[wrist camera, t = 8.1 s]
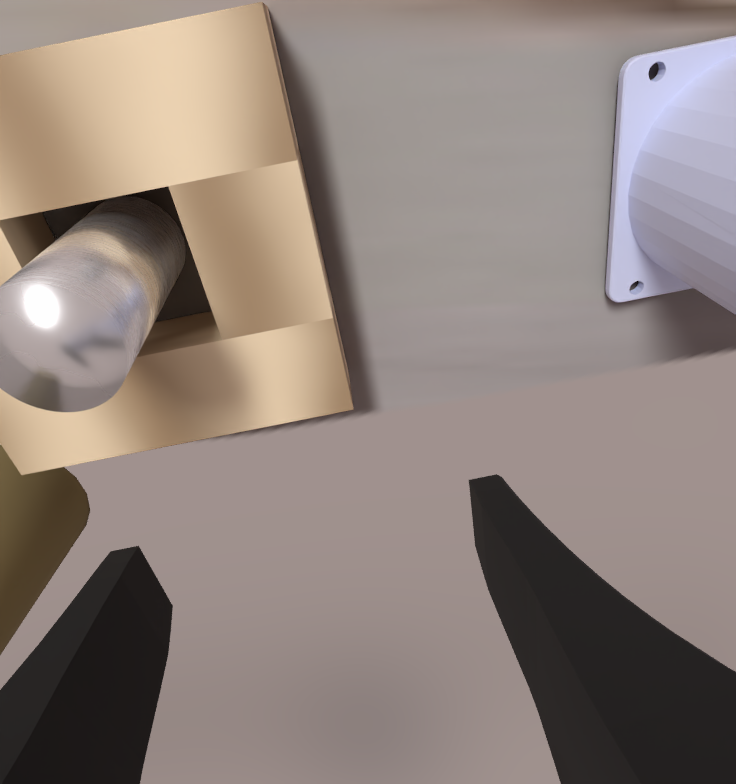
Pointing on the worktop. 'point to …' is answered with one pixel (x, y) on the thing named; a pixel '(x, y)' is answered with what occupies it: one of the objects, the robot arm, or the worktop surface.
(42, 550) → the cork
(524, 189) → the worktop surface
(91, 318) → the long pin
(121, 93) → the oak frame
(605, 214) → the worktop surface
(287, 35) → the worktop surface
